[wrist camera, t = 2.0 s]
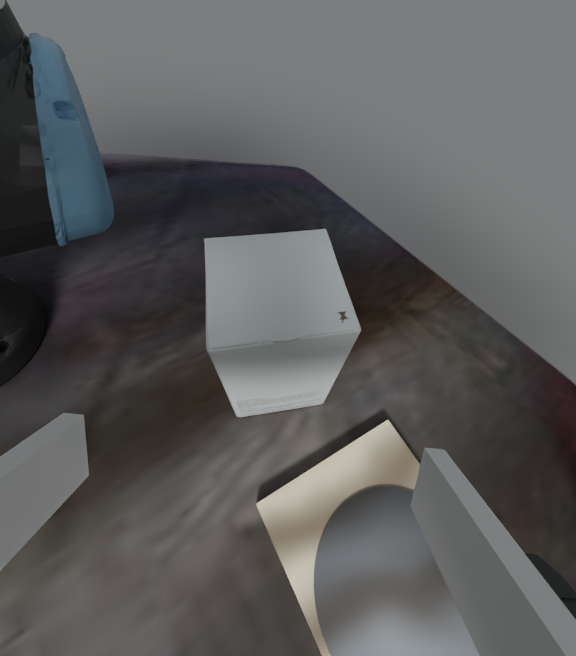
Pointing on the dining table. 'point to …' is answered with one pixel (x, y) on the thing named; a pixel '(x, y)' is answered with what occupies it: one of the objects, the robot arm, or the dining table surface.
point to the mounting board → (364, 555)
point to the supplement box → (277, 319)
